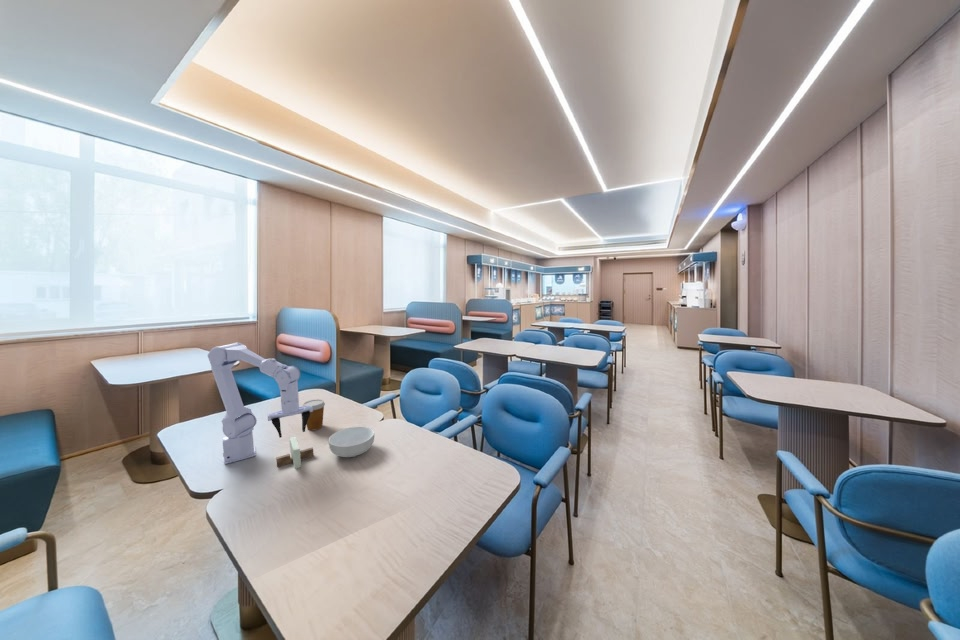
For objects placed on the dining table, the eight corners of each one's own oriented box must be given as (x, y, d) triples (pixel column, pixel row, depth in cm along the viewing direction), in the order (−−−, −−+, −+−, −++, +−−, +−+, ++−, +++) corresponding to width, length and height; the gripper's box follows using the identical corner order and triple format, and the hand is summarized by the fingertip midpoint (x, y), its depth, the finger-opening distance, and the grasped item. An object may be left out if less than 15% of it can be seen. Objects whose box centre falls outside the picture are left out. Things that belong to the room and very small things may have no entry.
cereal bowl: (359, 466, 115) (358, 448, 114) (319, 461, 118) (318, 443, 117) (382, 443, 131) (382, 427, 131) (347, 440, 135) (346, 424, 134)
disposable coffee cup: (319, 432, 142) (318, 406, 141) (298, 432, 142) (297, 406, 141) (330, 422, 152) (328, 399, 150) (310, 422, 152) (308, 399, 151)
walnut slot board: (277, 467, 115) (276, 459, 115) (276, 465, 116) (276, 457, 116) (313, 456, 122) (313, 448, 122) (313, 454, 123) (312, 447, 123)
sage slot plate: (301, 466, 115) (299, 448, 114) (294, 468, 114) (293, 450, 113) (296, 453, 124) (295, 436, 124) (290, 454, 123) (289, 437, 122)
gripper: (267, 406, 111) (270, 443, 112) (313, 398, 119) (315, 432, 121) (266, 401, 116) (269, 436, 118) (310, 393, 125) (312, 425, 126)
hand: (292, 433), depth 120 cm, fingers open, 7 cm apart
